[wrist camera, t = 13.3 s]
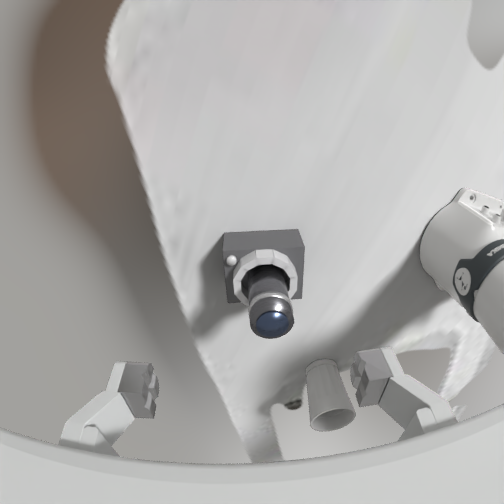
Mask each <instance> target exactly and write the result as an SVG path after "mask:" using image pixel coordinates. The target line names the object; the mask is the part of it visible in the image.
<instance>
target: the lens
mask: <svg viewBox="0 0 504 504" xmlns="http://www.w3.org/2000/svg"><path fill="white" fill-rule="evenodd" d="M247 279H248V296H249V308H248V311H249V318H250V326H251V329H252V331H253V332H254V333H255V334H256V335H258V336H260V337H263V338H268V339H272V338H278V337H281V336H283V335H285V334H286V333H288V332H289V331H290V330H291V328H292V327H293V324H294V317H293V309H292V305H291V301H290V300H289V296H288V291H287V287H286V283H285V278H284V274H283V271H282V269H281V268H280V267H278V266H275V265H273V264H264V265H257V266H255V267H254V268H252V269H250V270H249V272H248V275H247Z"/></svg>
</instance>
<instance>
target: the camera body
mask: <svg viewBox="0 0 504 504" xmlns="http://www.w3.org/2000/svg"><path fill="white" fill-rule="evenodd" d="M304 251H305V246H304V244H303V241H302V238H301V236H300V233H299V230H298V229H292V230H269V231H249V232H229V233H224V241H223V260H224V270H225V280H226V290H227V300H228V303H236V302H242V304H244V305H245V306H248V307H249V296H248V279H247V275H248V272H249V270H250V269H252V268H254V267H255V266H257V265H264V264H273V265H275V266H278V267H280V268H281V269H282V271H283V274H284V278H285V283H286V287H287V291H288V296H289V300H290V299H302V287H303V270H304Z"/></svg>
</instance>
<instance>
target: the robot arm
mask: <svg viewBox="0 0 504 504" xmlns="http://www.w3.org/2000/svg"><path fill="white" fill-rule="evenodd" d="M470 196H471V198H470ZM420 261H421V264H422V267H423V268H424V270H425V271H426V272H427V273H428V274H429V275H430V276H432V277H433V278H434V280H435V283H436V286H437V287H438V288H439V289H440V290H441V291H445V290H446V291H447V292H448V293H449V294H450V295H451V296H452V297H453V298H454V299H455V300H456V301H457V302H458V303H459V304H460V305H461V306H462V307H464V308H465V309H466V312H467V313H468V314H469V315H470V316H471V317H472V318H473V319H474V320H475V321H477V322H480V324H481V325H482V326H483V328H484V329H485V331H486V332H487V333H488V335H489V336H490V337H491V339H492V340H493V342H494V343H495V344H496V346H497V347H498V349H499V350H500V351H501V352H502V353H503V354H504V201H503V200H500V199H497V198H495V197H492V196H490V195H487V194H484V193H481V192H479V191H476V190H473V189H470V188H467V187H464V188H462V189H461V190H460V191H459V193H458V194H457V195H456V197H455V198H454V200H453V201H452V202H451V203H450V204H448V205H447V206H446V207H444V208H443V209H442V210H440V211H439V212H438V213H437V214H436V215H435V216H434V218H433V219H432V220H431V222H430V223H429V225H428V226H427V228H426V230H425V232H424V235H423V237H422V241H421V245H420ZM354 360H355V363H353V364H352V366H351V382H352V385H353V387H355V388H356V389H357V392H356V398H357V401H358V404H359V407H364V406H370V405H376V404H378V405H379V406H380V407H381V408H382V409H383V410H384V411H385V412H386V413H387V414H388V415H390V416H391V417H392V418H393V419H394V420H395V421H396V422H397V423H398V424H399V425H400V426H401V427H403V428H404V429H405V431H404V432H403V434H402V436H401V437H400V438H399V440H398V441H397V442H393V443H389V444H385V445H381V446H377V447H372V448H367V449H363V450H358V451H353V452H348V453H341V454H336V455H330V456H323V457H315V458H309V459H300V460H290V461H278V462H264V463H246V464H245V463H244V464H195V463H194V464H192V463H173V462H160V461H150V460H140V459H132V458H124V457H120V456H119V455H118V454H117V452H116V451H115V450H114V449H113V448H112V445H113V444H114V442H115V441H116V440H117V439H118V438H119V437H120V436H121V434H122V433H123V432H124V431H125V430H126V429H127V427H128V426H129V425H130V424H131V423H132V422H133V420H134V419H135V418H154V416H155V410H156V404H155V402H154V400H155V399H156V398H157V397H158V394H159V383H158V378H157V376H156V375H155V374H154V373H153V370H154V368H153V366H152V364H151V363H140V362H123V361H116V363H115V364H114V366H113V369H112V372H111V375H110V378H109V381H108V384H107V387H106V390H105V391H101V392H100V393H99V394H98V395H97V396H96V397H94V398H93V399H92V400H91V401H90V402H89V403H87V404H86V405H85V406H84V407H83V408H81V409H80V410H79V411H78V412H77V413H75V414H74V415H73V416H72V417H71V418H70V419H68V420H67V421H66V424H65V427H64V429H63V432H62V435H61V438H60V441H59V444H58V445H57V444H53V443H49V442H45V441H42V440H38V439H35V438H31V437H28V436H25V435H21V434H18V433H15V432H12V431H9V430H6V429H4V428H1V427H0V504H504V404H502V405H500V406H497V407H495V408H493V409H491V410H488V411H486V412H484V413H481V414H479V415H476V416H474V417H471V418H469V419H466V420H463V421H461V422H457V420H456V418H455V415H454V413H453V411H452V409H451V407H450V405H449V403H448V401H447V400H446V399H444V398H443V397H441V396H440V395H438V394H437V393H435V392H434V391H432V390H431V389H429V388H428V387H426V386H425V385H423V384H422V383H420V382H419V381H417V380H416V379H414V378H413V377H411V376H410V375H408V374H406V375H405V374H404V372H403V370H402V368H401V365H400V363H399V361H398V359H397V357H396V355H395V353H394V351H393V349H392V347H390V346H389V347H383V348H375V349H369V350H363V351H356V353H355V355H354Z"/></svg>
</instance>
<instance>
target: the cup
mask: <svg viewBox="0 0 504 504" xmlns="http://www.w3.org/2000/svg"><path fill="white" fill-rule="evenodd" d="M305 375H306V381H307V391H308V400H309V412H310V426H311V427H312V428H313V429H314V430H317V431H332V430H336V429H340V428H342V427H344V426H346V425H348V424H349V423H351V422H352V421H353V420H354V418H355V416H356V413H355V410H354V408H353V405H352V403H351V401H350V398H349V397H348V395H347V392H346V390H345V387H344V384H343V382H342V379H341V377H340V374H339V372H338V367H337V364H336V363H335V362H334V361H333V360H330V359H321V360H317V361H314V362H313V363H311V364H310V365H308V367H307V368H306V370H305Z"/></svg>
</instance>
